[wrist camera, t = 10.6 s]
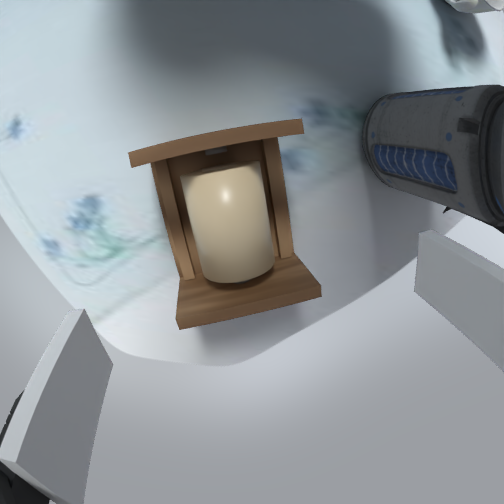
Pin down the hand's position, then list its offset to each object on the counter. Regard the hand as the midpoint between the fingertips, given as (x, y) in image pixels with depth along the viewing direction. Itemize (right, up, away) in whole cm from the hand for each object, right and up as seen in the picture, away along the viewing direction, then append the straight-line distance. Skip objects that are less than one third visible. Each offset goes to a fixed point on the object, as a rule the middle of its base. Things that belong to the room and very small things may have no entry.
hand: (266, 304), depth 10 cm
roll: (-2, +4, +13) cm, 14 cm away
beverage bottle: (+15, +13, +17) cm, 26 cm away
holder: (-3, +6, +16) cm, 18 cm away
